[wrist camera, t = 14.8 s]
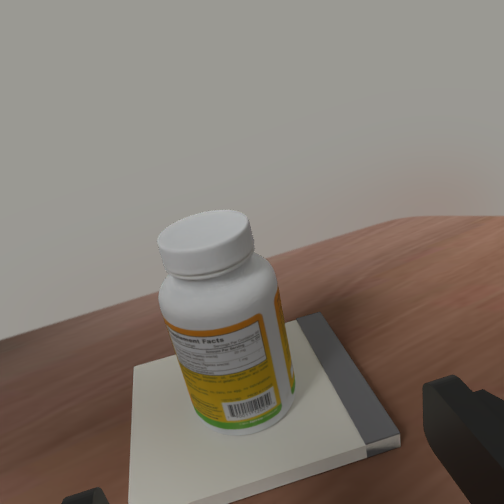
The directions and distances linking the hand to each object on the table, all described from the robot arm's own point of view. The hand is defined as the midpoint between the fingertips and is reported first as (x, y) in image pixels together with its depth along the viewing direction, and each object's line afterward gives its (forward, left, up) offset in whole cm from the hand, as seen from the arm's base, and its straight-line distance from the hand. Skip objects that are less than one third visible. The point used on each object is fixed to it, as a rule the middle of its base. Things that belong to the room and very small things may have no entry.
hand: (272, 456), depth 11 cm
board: (0, +10, -8) cm, 13 cm away
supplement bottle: (0, +10, -8) cm, 13 cm away
